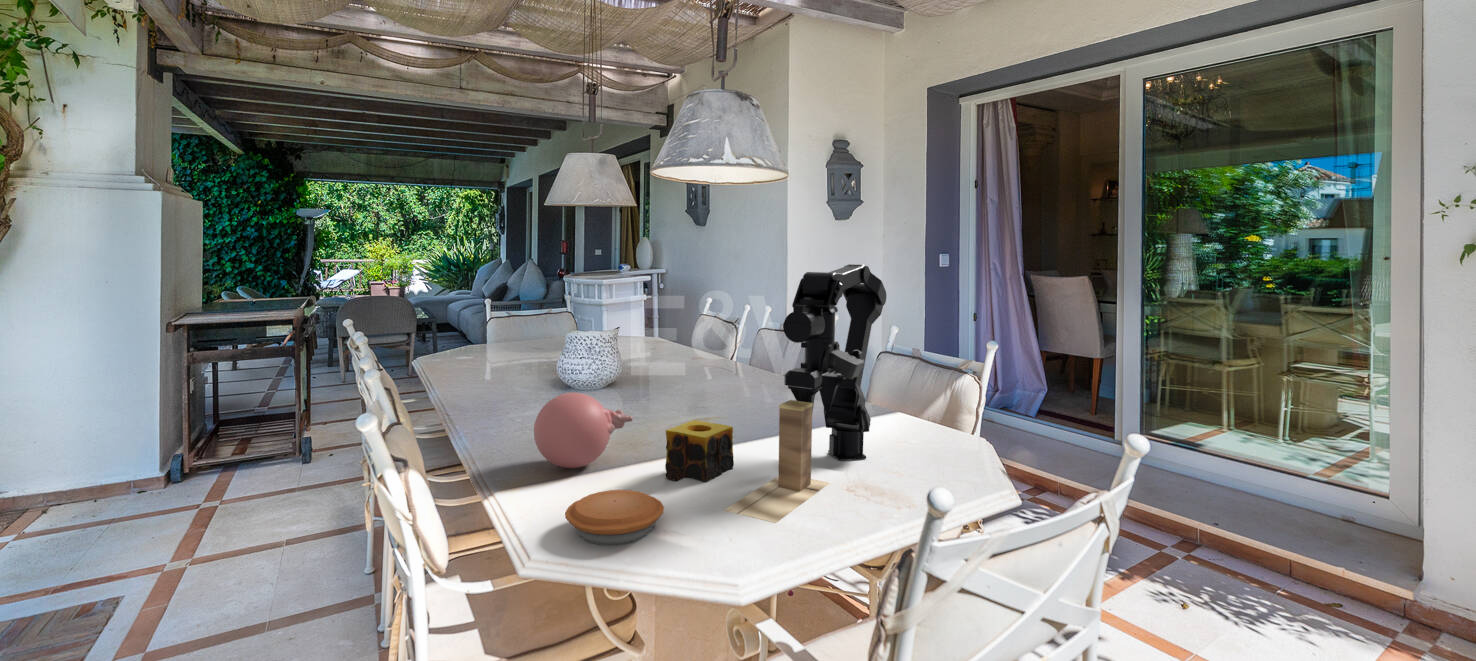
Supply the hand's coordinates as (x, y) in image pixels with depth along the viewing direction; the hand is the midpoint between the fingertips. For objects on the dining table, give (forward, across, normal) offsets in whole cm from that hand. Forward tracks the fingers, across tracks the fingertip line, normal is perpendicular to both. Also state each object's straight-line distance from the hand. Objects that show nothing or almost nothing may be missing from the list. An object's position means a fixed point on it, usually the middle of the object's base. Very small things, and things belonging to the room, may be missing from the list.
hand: (818, 415), depth 132 cm
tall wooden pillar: (+11, -10, 0) cm, 15 cm away
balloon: (+13, -19, +44) cm, 50 cm away
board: (+12, -16, 0) cm, 20 cm away
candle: (+13, -12, +20) cm, 27 cm away
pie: (+13, -41, +17) cm, 46 cm away
